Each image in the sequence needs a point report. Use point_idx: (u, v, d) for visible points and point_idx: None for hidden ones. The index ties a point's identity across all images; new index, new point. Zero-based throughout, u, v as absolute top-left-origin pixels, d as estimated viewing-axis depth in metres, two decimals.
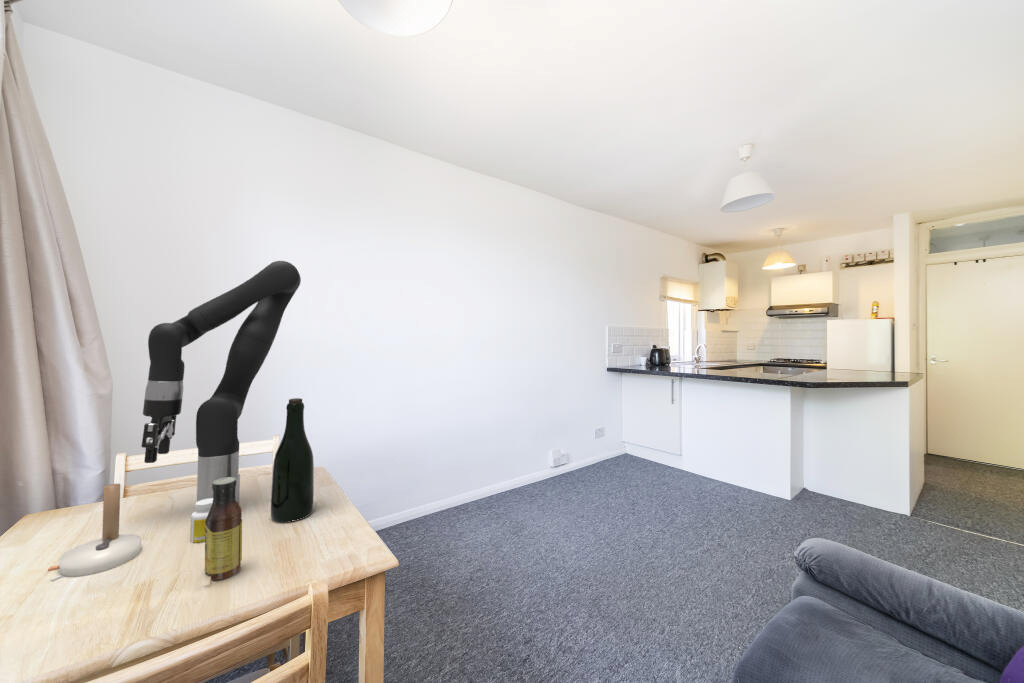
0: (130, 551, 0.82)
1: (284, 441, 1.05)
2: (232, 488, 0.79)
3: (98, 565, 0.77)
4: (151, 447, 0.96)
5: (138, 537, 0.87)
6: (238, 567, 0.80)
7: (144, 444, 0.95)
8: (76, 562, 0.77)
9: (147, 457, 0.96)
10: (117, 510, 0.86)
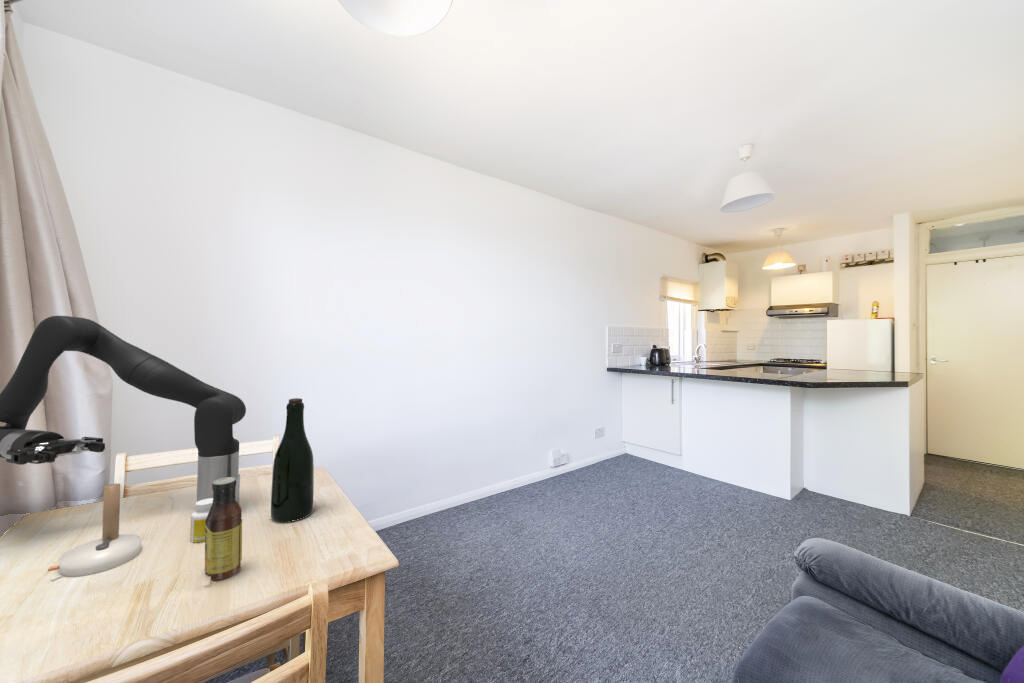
0: (130, 551, 0.82)
1: (284, 441, 1.04)
2: (232, 488, 0.79)
3: (98, 565, 0.77)
4: (26, 456, 0.83)
5: (138, 537, 0.87)
6: (238, 567, 0.80)
7: (18, 462, 0.83)
8: (76, 562, 0.77)
9: (41, 459, 0.84)
10: (117, 510, 0.86)
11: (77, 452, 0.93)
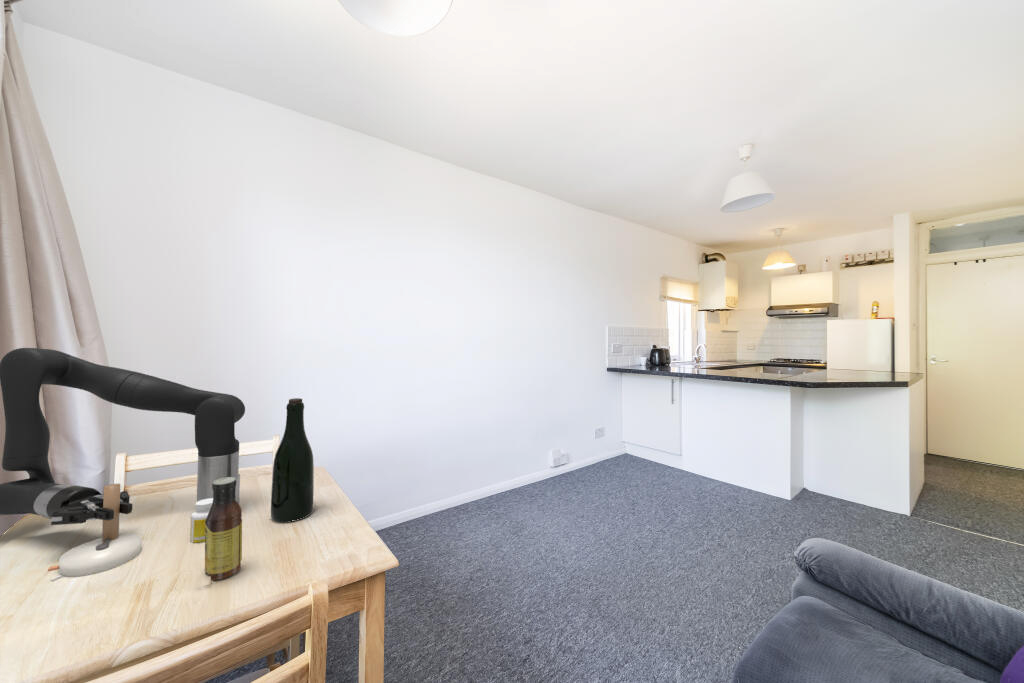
0: (130, 551, 0.82)
1: (284, 441, 1.05)
2: (232, 488, 0.79)
3: (98, 565, 0.77)
4: (86, 514, 0.83)
5: (138, 537, 0.87)
6: (238, 567, 0.80)
7: (78, 521, 0.82)
8: (76, 562, 0.77)
9: (100, 517, 0.83)
10: (117, 510, 0.86)
11: None
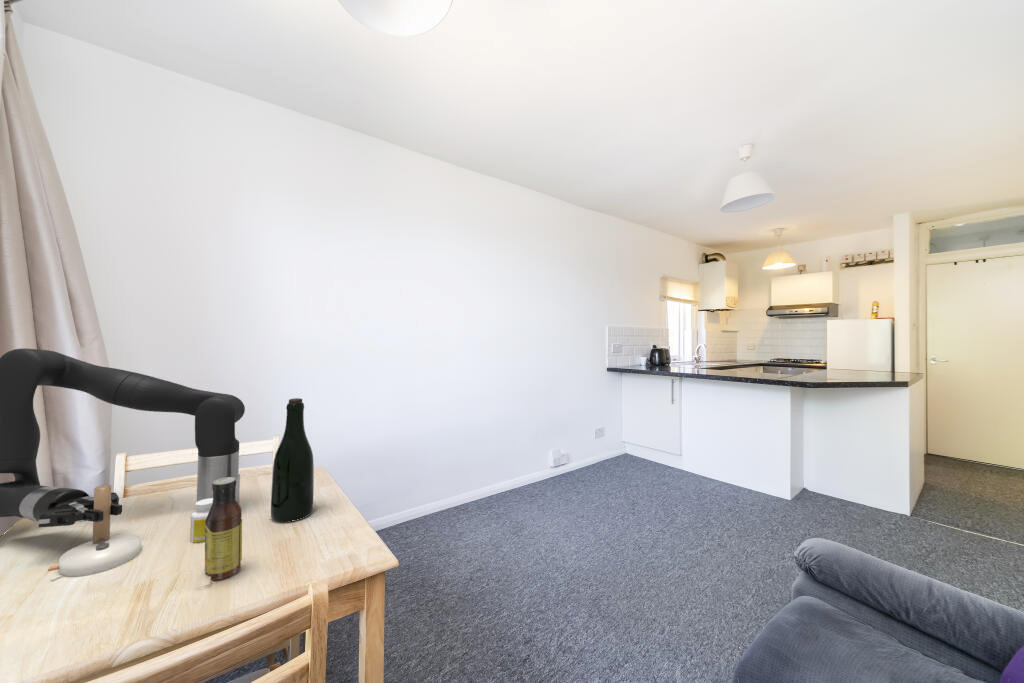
0: (137, 546, 0.84)
1: (284, 441, 1.05)
2: (232, 488, 0.79)
3: (112, 561, 0.79)
4: (74, 516, 0.82)
5: (134, 535, 0.87)
6: (238, 567, 0.80)
7: (67, 523, 0.81)
8: (86, 561, 0.77)
9: (90, 519, 0.82)
10: (109, 510, 0.85)
11: None
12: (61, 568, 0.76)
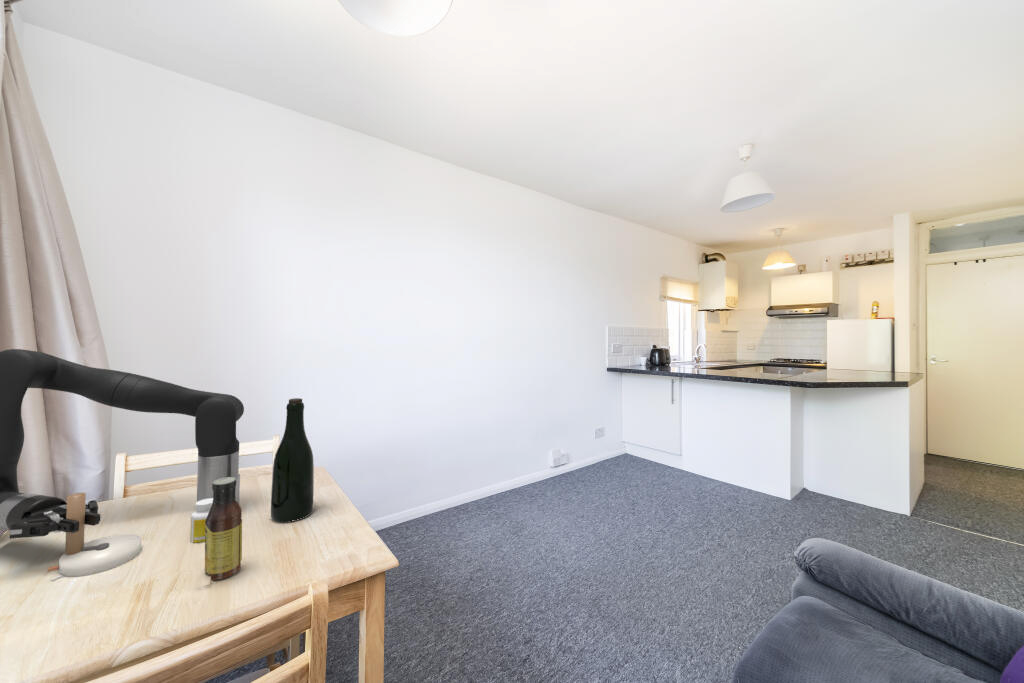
0: None
1: (284, 441, 1.05)
2: (232, 488, 0.79)
3: (140, 545, 0.85)
4: (48, 526, 0.77)
5: (104, 538, 0.86)
6: (238, 567, 0.80)
7: (40, 533, 0.76)
8: (124, 550, 0.81)
9: (64, 530, 0.77)
10: None
11: None
12: (95, 566, 0.77)
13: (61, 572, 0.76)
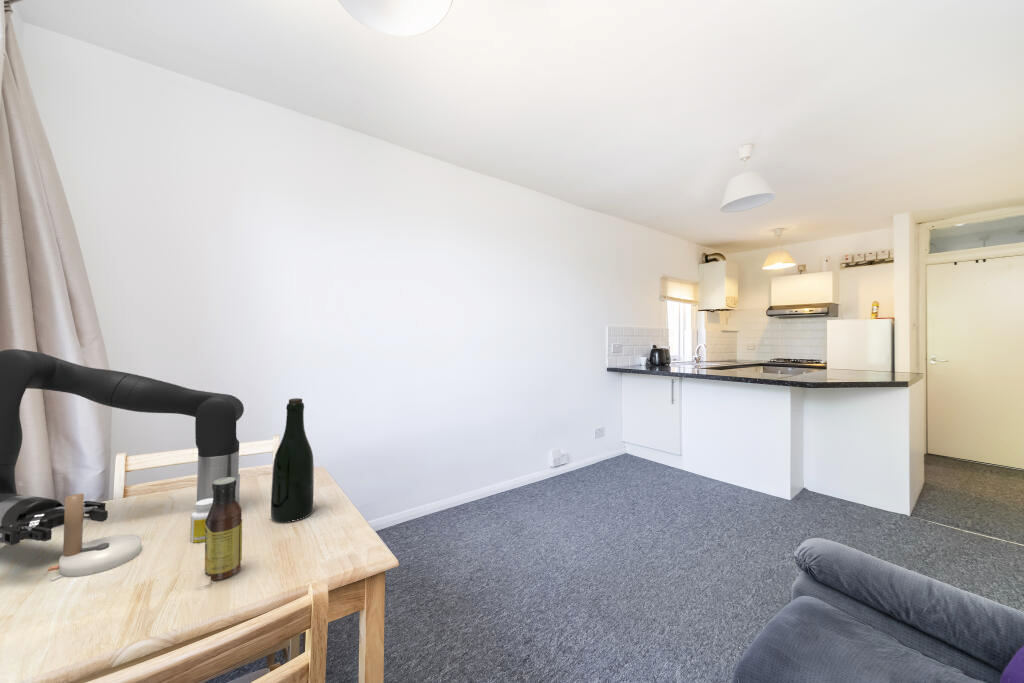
0: None
1: (284, 441, 1.05)
2: (232, 488, 0.79)
3: (140, 544, 0.86)
4: (19, 534, 0.74)
5: (98, 539, 0.85)
6: (238, 567, 0.80)
7: (9, 542, 0.73)
8: (128, 548, 0.82)
9: (36, 538, 0.74)
10: None
11: None
12: (102, 565, 0.78)
13: (64, 573, 0.76)
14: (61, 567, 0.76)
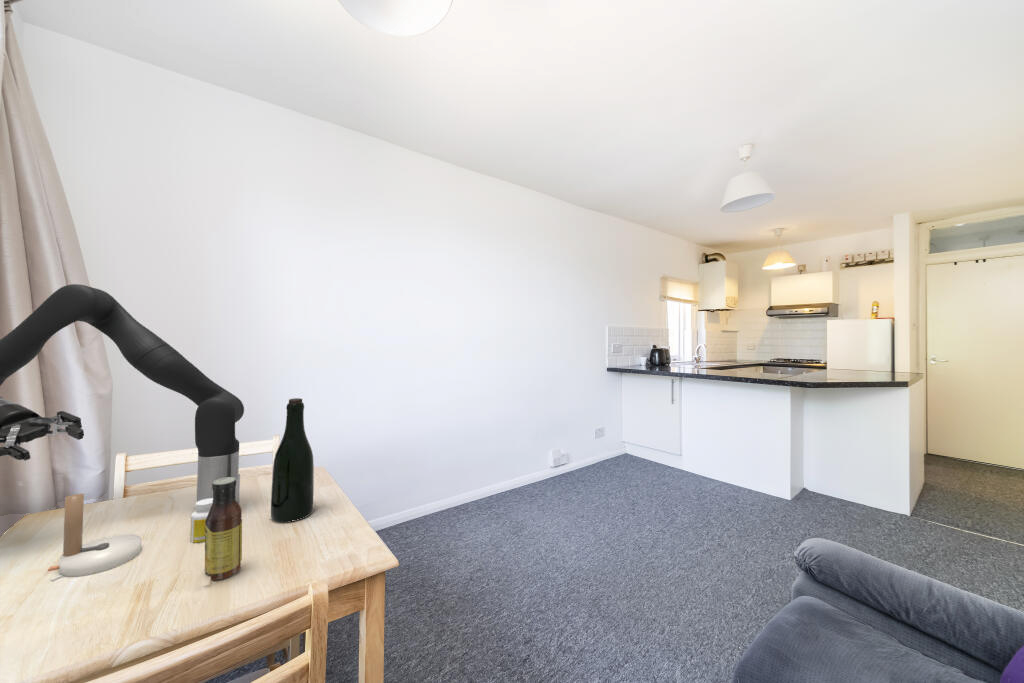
0: None
1: (284, 441, 1.05)
2: (232, 488, 0.79)
3: (140, 544, 0.86)
4: None
5: (98, 539, 0.85)
6: (238, 567, 0.80)
7: None
8: (128, 548, 0.82)
9: (15, 457, 0.79)
10: None
11: (54, 434, 0.88)
12: (102, 565, 0.78)
13: (64, 573, 0.76)
14: (61, 567, 0.76)
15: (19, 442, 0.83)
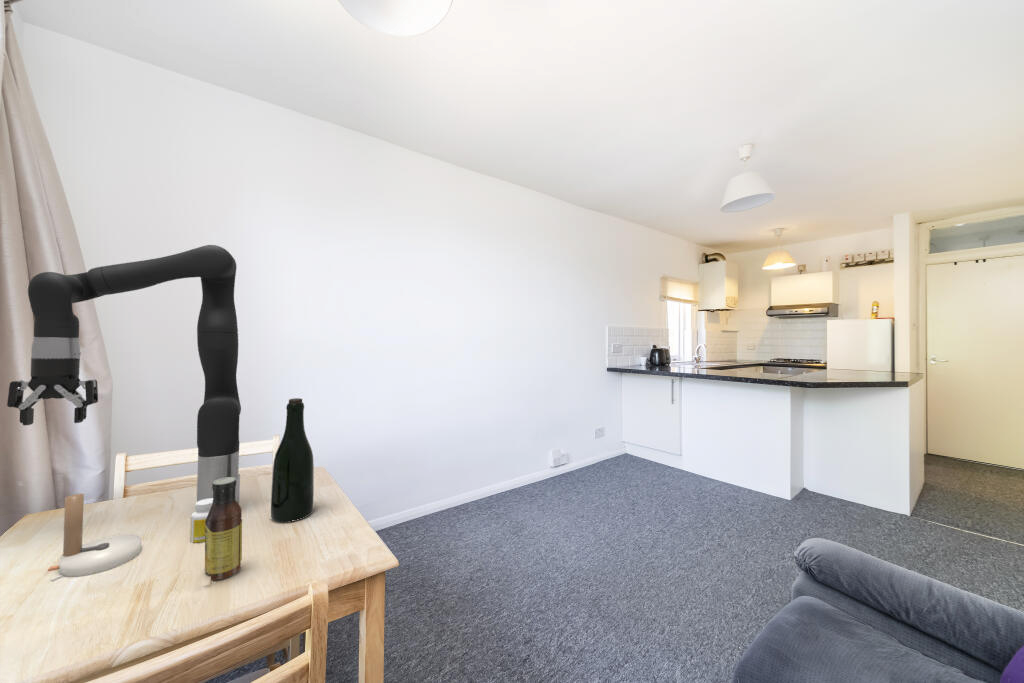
0: None
1: (284, 441, 1.05)
2: (232, 488, 0.79)
3: (140, 544, 0.86)
4: None
5: (98, 539, 0.85)
6: (238, 567, 0.80)
7: None
8: (128, 548, 0.82)
9: None
10: None
11: None
12: (102, 565, 0.78)
13: (64, 573, 0.76)
14: (61, 567, 0.76)
15: None
